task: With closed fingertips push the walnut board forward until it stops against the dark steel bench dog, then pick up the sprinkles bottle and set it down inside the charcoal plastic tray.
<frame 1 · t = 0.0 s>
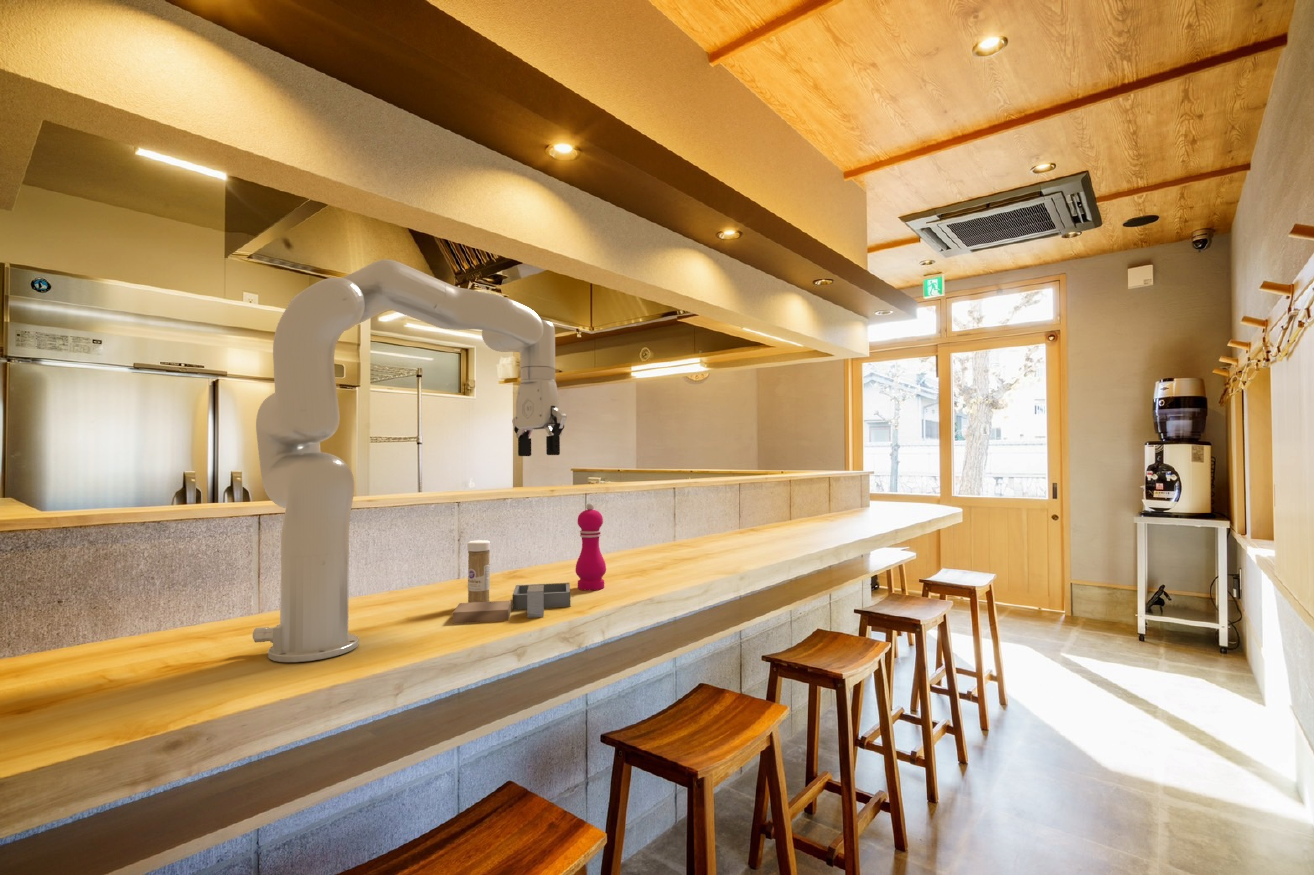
hand: (538, 455, 133), 31 cm above the counter, tool pointing down, fingers open, 9 cm apart
sprinkles bottle: (479, 606, 127), on the counter
board: (483, 619, 118), on the counter
tray: (542, 602, 129), on the counter
bench dog: (535, 613, 119), on the counter
pepper mill: (591, 588, 144), on the counter
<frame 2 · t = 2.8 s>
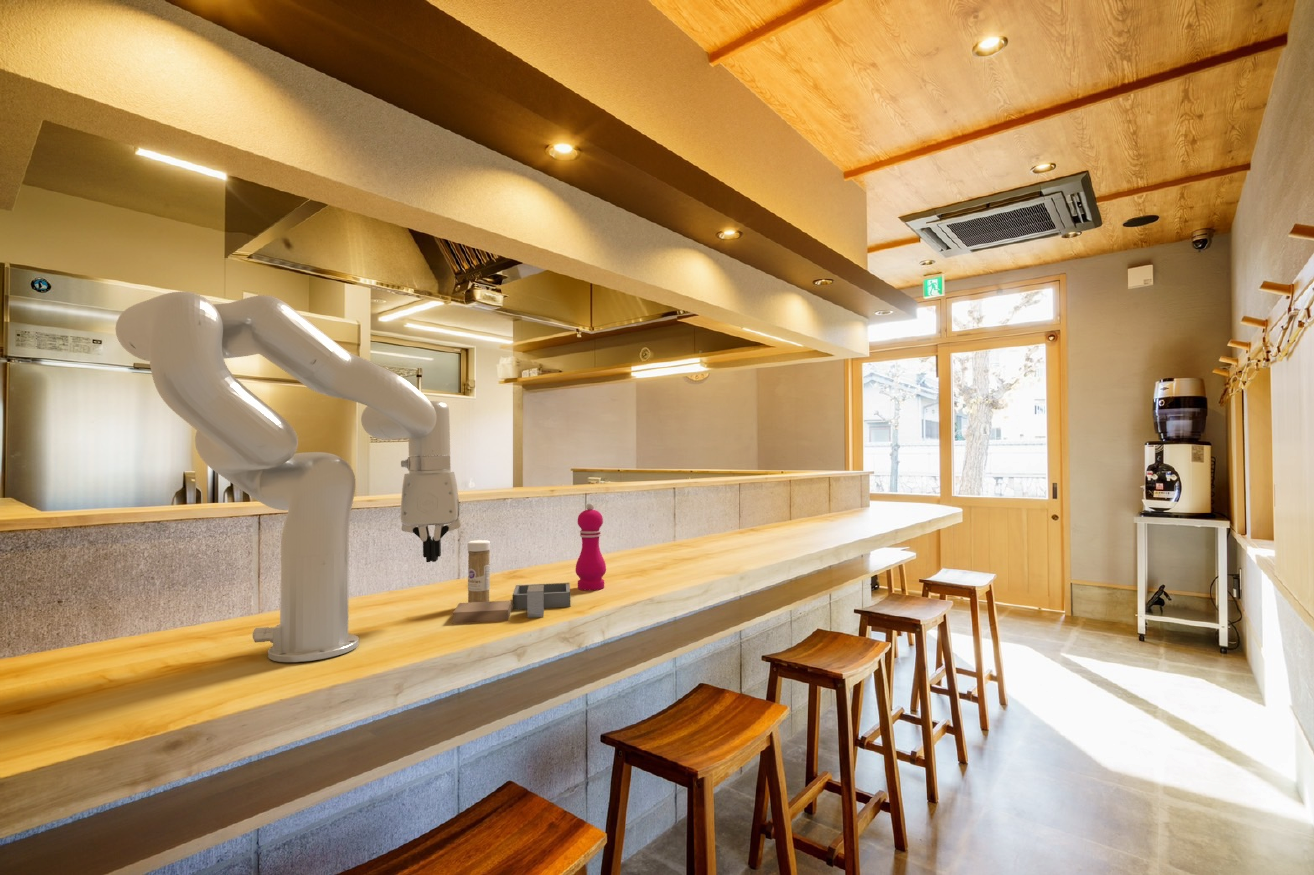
hand: (432, 560, 117), 11 cm above the counter, tool pointing down, fingers closed
nothing on the counter moved.
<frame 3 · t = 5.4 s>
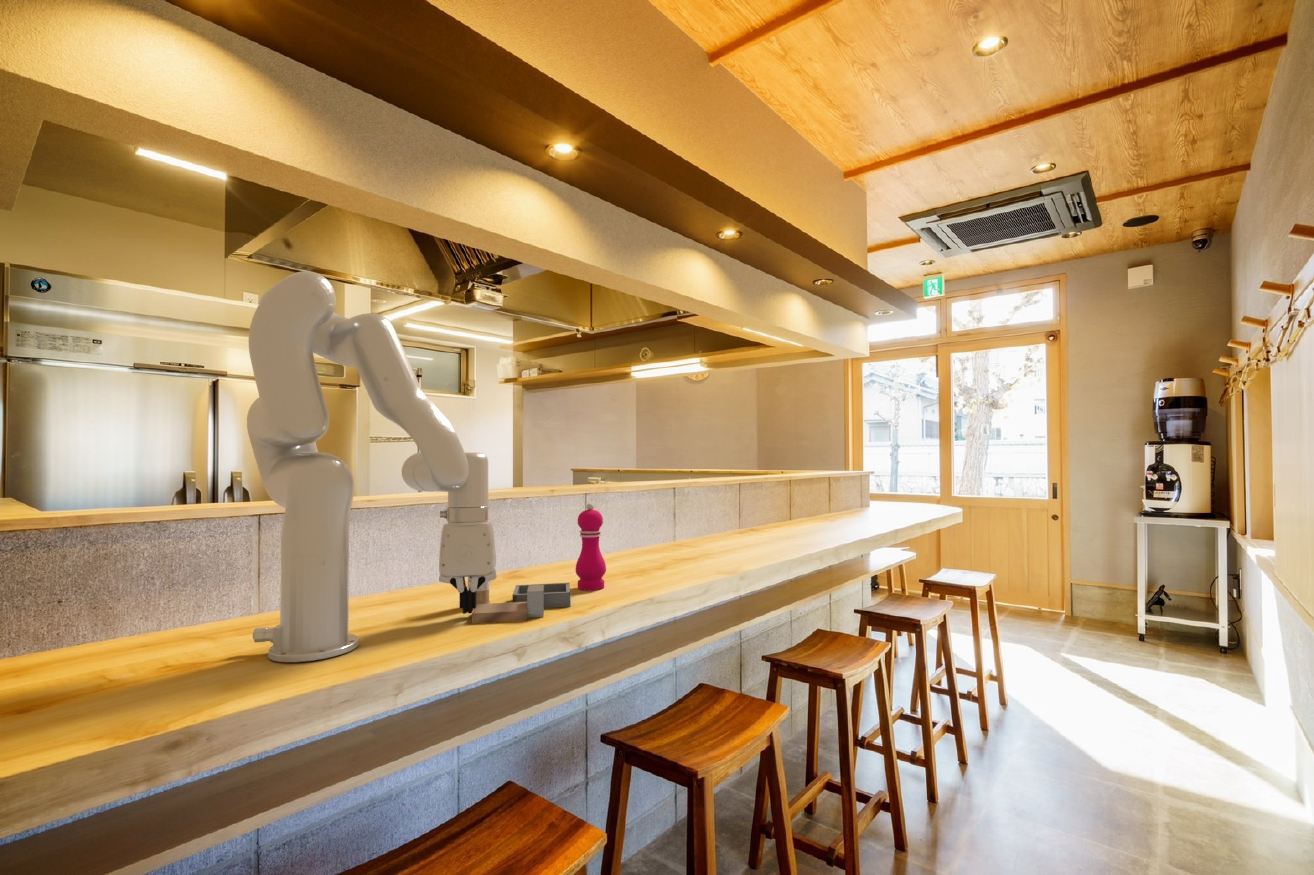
hand: (468, 611, 117), 1 cm above the counter, tool pointing down, fingers closed
board: (501, 620, 118), on the counter, touching bench dog, gripper
everything else where it was.
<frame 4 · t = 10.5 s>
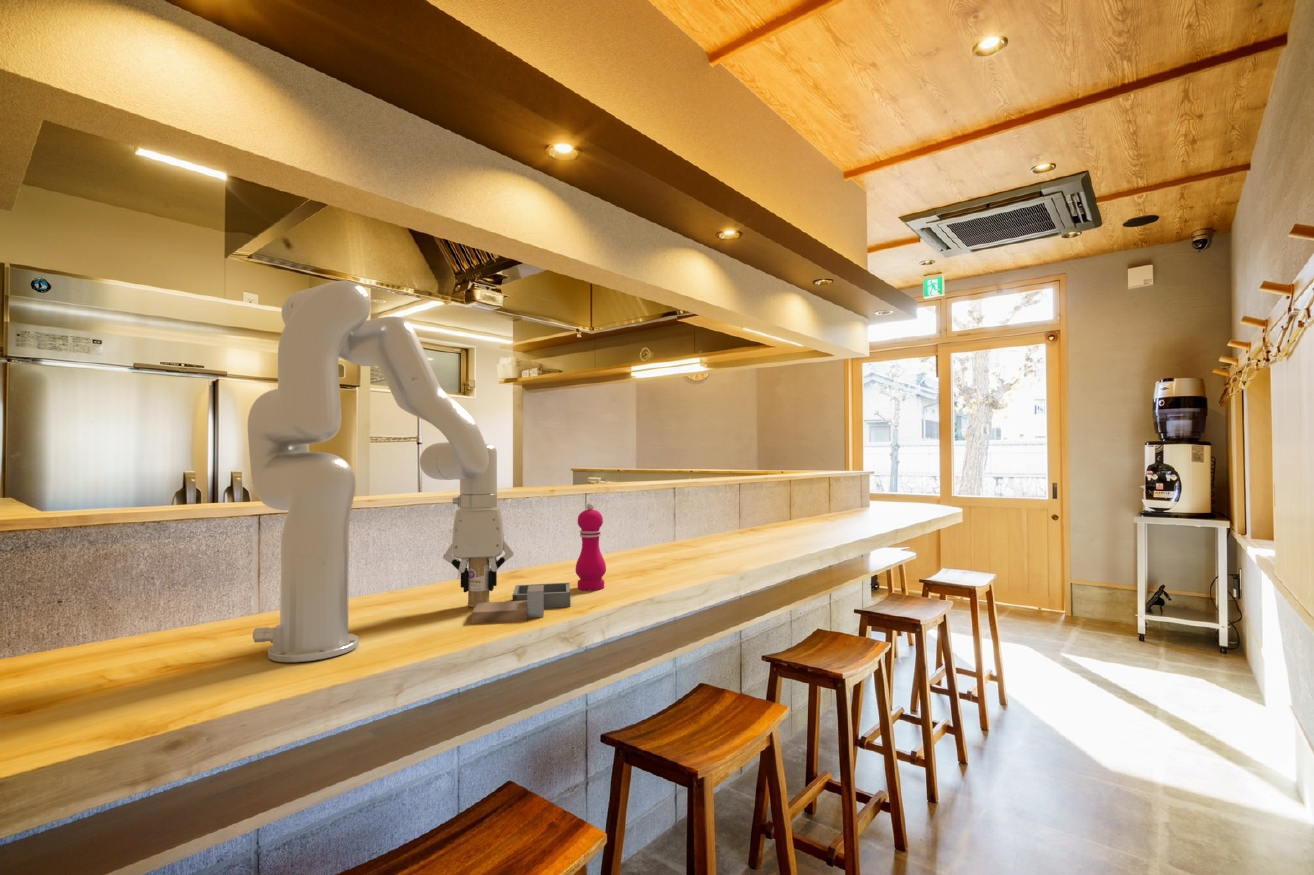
hand: (478, 589, 127), 3 cm above the counter, tool pointing down, fingers closed on sprinkles bottle, 4 cm apart
sprinkles bottle: (479, 606, 127), on the counter, touching gripper
board: (501, 619, 118), on the counter
everything else where it was.
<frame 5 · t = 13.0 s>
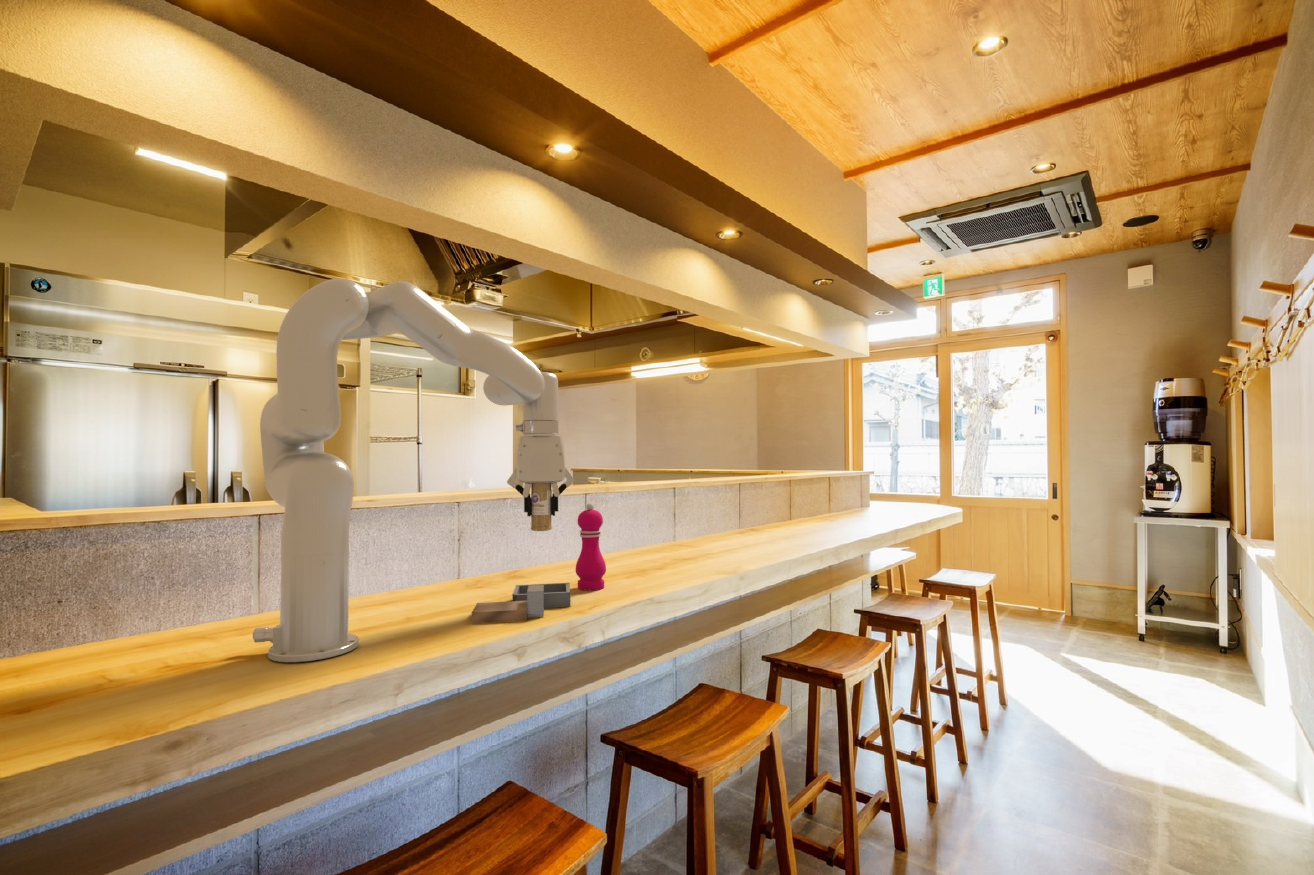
hand: (541, 514, 130), 19 cm above the counter, tool pointing down, fingers closed on sprinkles bottle, 4 cm apart
sprinkles bottle: (541, 531, 130), point 15 cm above the counter, touching gripper
everything else where it was.
when the fingers open (6 cm above the counter, at t = 15.6 s): sprinkles bottle drops 1 cm, resting on tray.
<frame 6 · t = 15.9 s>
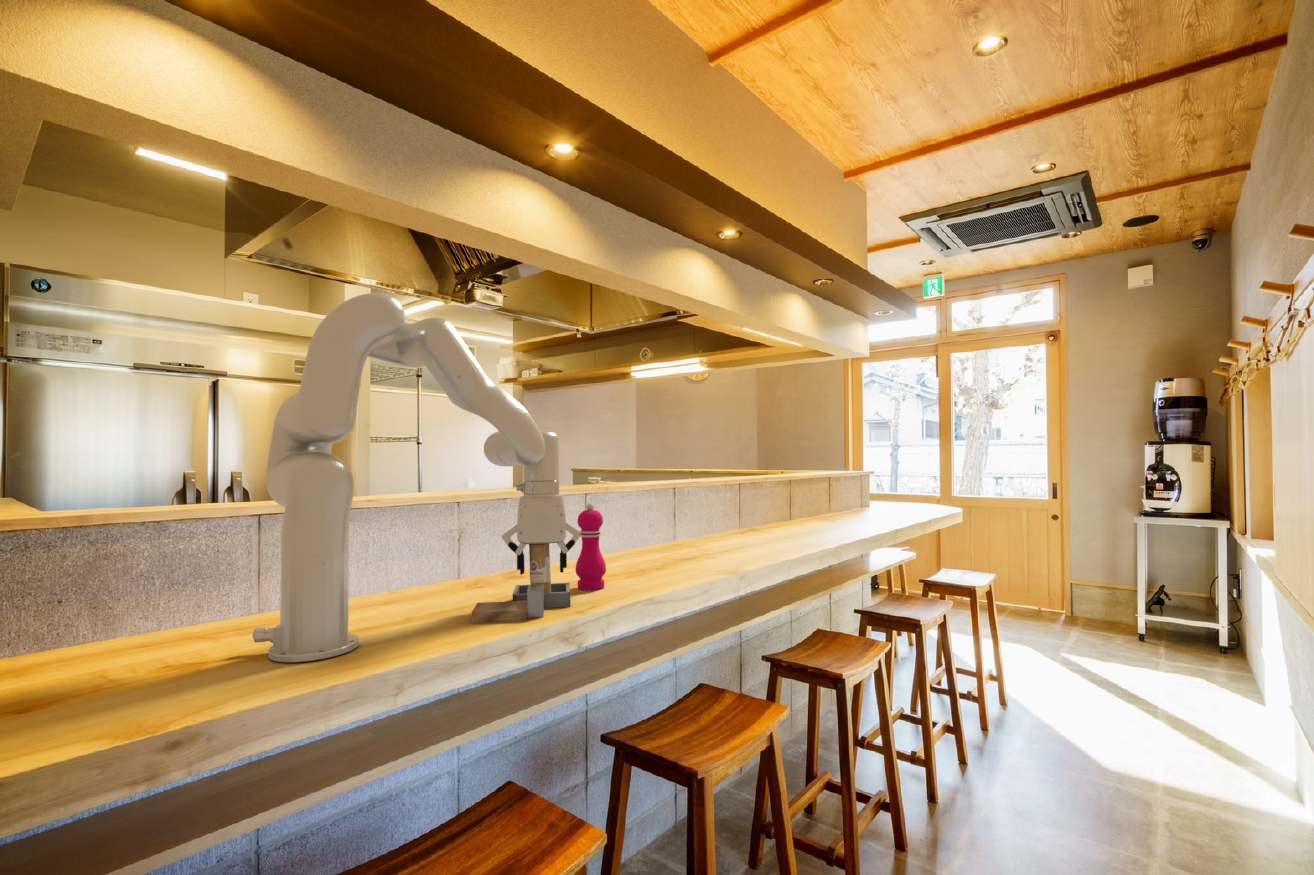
hand: (542, 571, 130), 6 cm above the counter, tool pointing down, fingers open, 7 cm apart
sprinkles bottle: (541, 598, 129), point 1 cm above the counter, touching tray
everything else where it was.
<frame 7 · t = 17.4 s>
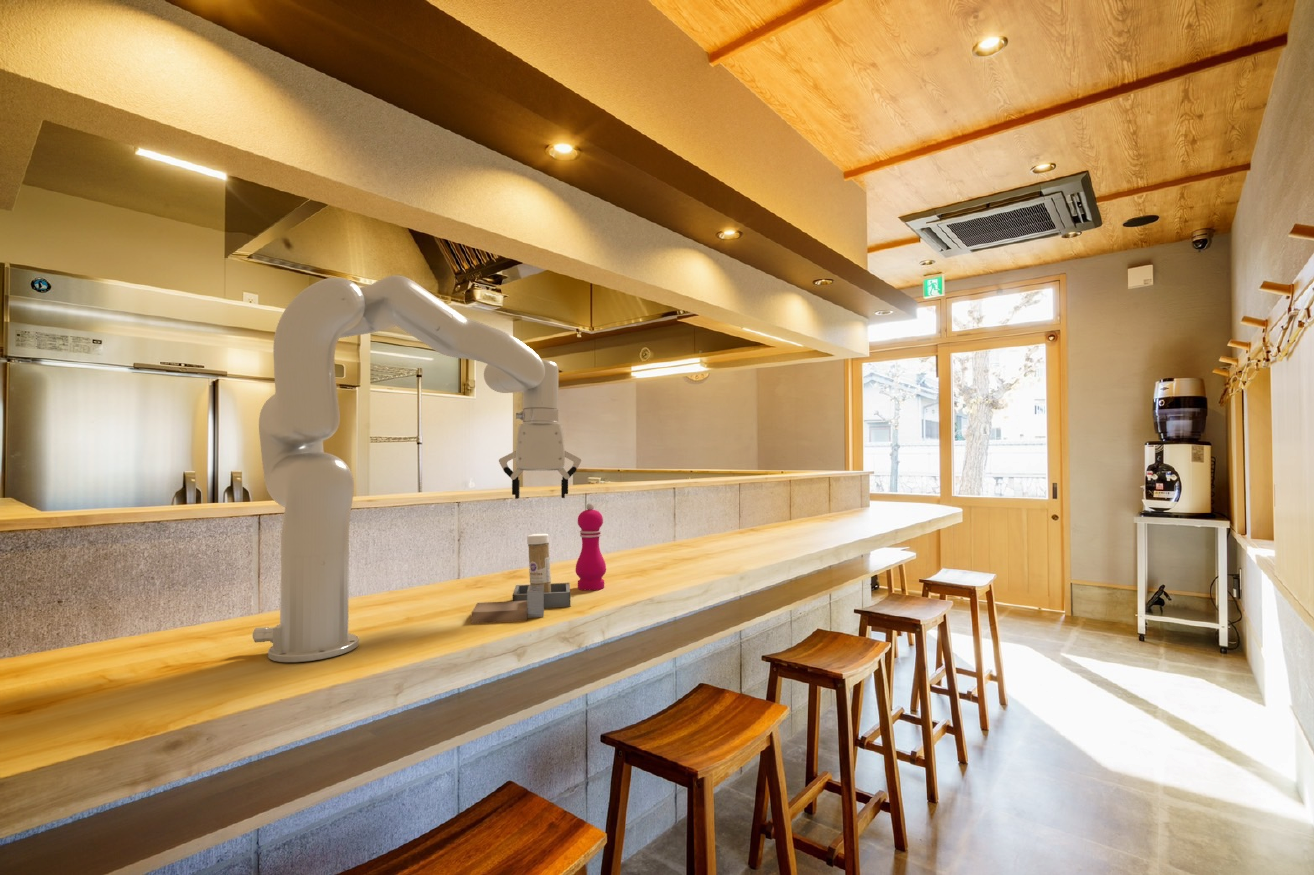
hand: (540, 498, 130), 22 cm above the counter, tool pointing down, fingers open, 9 cm apart
nothing on the counter moved.
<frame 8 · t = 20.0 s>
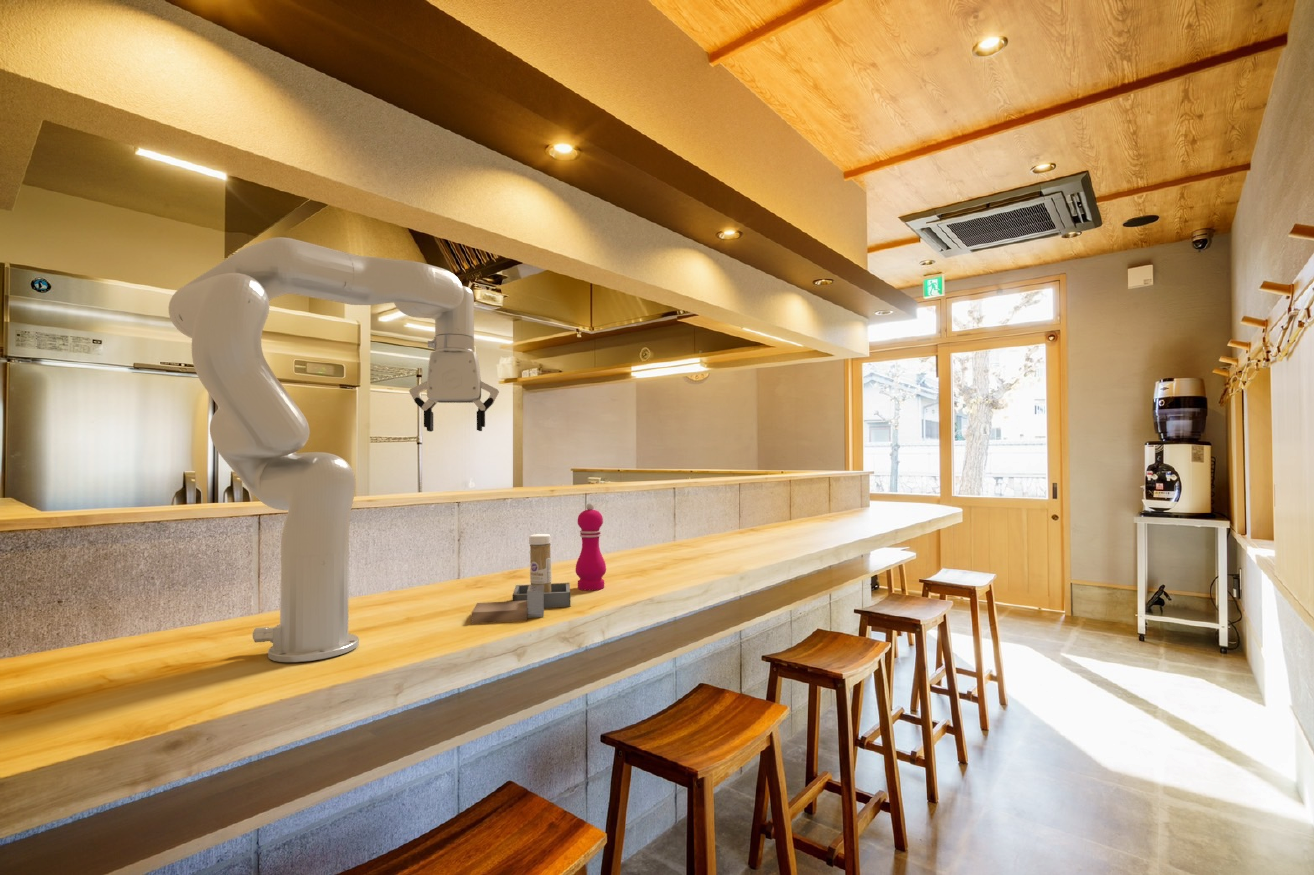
hand: (454, 430, 123), 36 cm above the counter, tool pointing down, fingers open, 9 cm apart
nothing on the counter moved.
at the end: board 1.0 cm from the target spot on the counter beside the bench dog, on the counter; sprinkles bottle inside the target area on the tray (0.1 cm from its centre), point 0.7 cm above the tray's base; sprinkles bottle tilted 2° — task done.
